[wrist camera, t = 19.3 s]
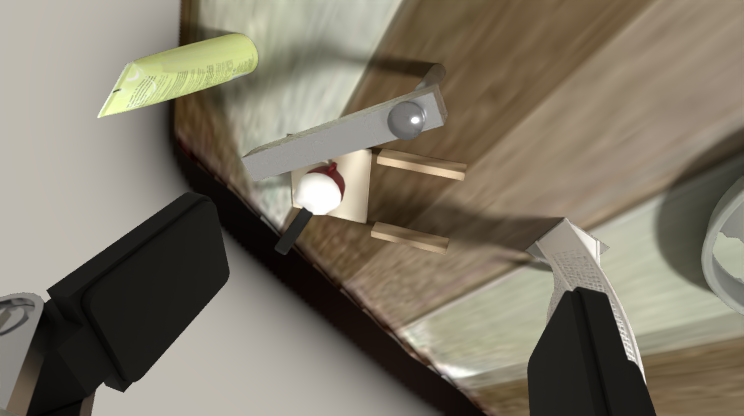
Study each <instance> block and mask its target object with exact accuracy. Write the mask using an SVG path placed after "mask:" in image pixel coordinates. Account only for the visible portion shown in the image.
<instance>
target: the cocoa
mask: <svg viewBox="0 0 744 416" xmlns="http://www.w3.org/2000/svg"><path fill="white" fill-rule="evenodd" d="M345 186H346V185H345V182H344V179H343V177H342V176H341V174H340V173H339V172H338V171H337V163H336V162H333V163H332V165H331V166H330V167H328V166H320V167H317V168H314V169H312V170H310V171H308V172H307V173H306V174H305V175H304V176H303V177H302V178H301V180H300V182H299V184H298V186H297V188H296V190H295V192H294V194H293V198H294V200H295V202H296V203H297V204H298V205H300V206H302V207H303V208H302V209H301V210H300V212H299V213H298V215H297V216H296V218H295V219H294V220H293V222H292V223H291V225H290V226H289V228H288V229H287V230H286V232H285V233H284V235H283V236H282V238H281V239H280V240H279V242H278V243H277V245H276V246H275V250H276V251H278V252H280V253H282V254H283V255H285V254H287V253H288V251H289V249H290V248H291V247H292V245H293V244H294V242H295V241H296V239H297V238H298V236H299V235H300V233H301V232H302V230H303V229H304V227H305V226H306V224H307V223H308V221H309V220H310V218H311V217H312V215H325V214H327V213H328V212H330V211H331V210H334V209H336V208H337V207H338V206H339V205H340V203H341V201H342V200H343V196H344V192H345Z"/></svg>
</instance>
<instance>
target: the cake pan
mask: <svg viewBox="0 0 744 416" xmlns="http://www.w3.org/2000/svg"><path fill="white" fill-rule="evenodd" d="M719 232H722V233H724V235H725V236H726V237H731V238H739V239H740V240H741V241H742V242H743V243H744V175H743V176H742V177H741V178H739V179H738V180H737V181H736V182H735V183H734V184H733V185H732V186H731V187H730V188H729V189H728V190H727V191H726V192H725V194H724V195H723V196H722V197H721V199H720V200H719V202H718V203H717V205H716V206H715V208H714V210H713V212H712V214H711V216H710V219H709V222H708V227H707V235H706V237H705V240H704V243H703V247H702V253H701V255H702V256H701V265H702V270H703V274H704V277H705V279H706V281H707V284H708V285H709V287H710V288H711V290H712V291H713V292H714V293H715V294H716V295H717V297H718V298H719V299H720V300H722V301H723V302H724V303H725V304H726V305H727V306H729V307H730V308H732V309H733V310H735V311H737V312H738V313H740V314H742V315H744V282H743V281H742V279H740V278H735V277H733V276H732V275H730V274H729V273H728V272H727V271H725V270H724V269H723V268H722V267H721V265H720V264H719V263H718V261H717V260H716V258H715V257H714V255H713V246H714V243H715V240H716V238H717V235H718V233H719Z"/></svg>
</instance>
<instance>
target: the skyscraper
mask: <svg viewBox="0 0 744 416" xmlns="http://www.w3.org/2000/svg"><path fill="white" fill-rule="evenodd" d="M608 249H609V247H608V246H607V245H605V244H604V243H602V242H601V241H599V240H598V239H596V238H595V237H593V236H592V235H590V234H589V233H587V232H586V231H584V230H583V229H581V228H580V227H578V226H577V225H575V224H574V223H572V222H571V221H569V220H568V219H567V218H564V219H563V220H561V221H560V222H559V223H558V224H556V225H555V226H554V227H553V228H551V229H550V230H549V231H548V232H547V233H545V234H544V235H543V236H542V237H540V238H539V239H538V240H537V241H536V242H534V243H533V244H532V245H531V246H529V247H528V248H527V249H526V250H525V251H527V252H528V253H530V254H531V255H533V256H534V257H536V258H537V259H539V260H540V261H542V262H543V263H545V264H546V265H548V266H549V267H551V268H552V271H553V275H554V291H553V294H552V297H551V301H550V304H549V309H548V314H547V321H546V326H547V324H548V322H549V320H550V318H551V316H552V314H553V313H554V311H555V309H556V307H557V305H558V303H559V301H560V299H561V297H562V295H563V294H564V292H565V291H566V290H569V291H573V290H574V289H575V288H576V287H577V286H579V287H583V288H588V289H592V290H596V291H600V292H604V293H606V294H607V296H608V298H609V301H610V304H611V307H612V310H613V314H614V317H615V320H616V323H617V326H618V329H619V332H620V335H621V339H622V342H623V345H624V348H625V351H626V354H627V357H628V360H631V361H634V362H635V363H636V364H637V365H638V366H639V368H640V370H641V372H642V375H643V378H644V381H645V376H644V370H643V366H642V362H641V358H640V353H639V350H638V346H637V343H636V340H635V337H634V334H633V331H632V329H631V326H630V323H629V321H628V318H627V316H626V314H625V311H624V309H623V307H622V305H621V303H620V301H619V299H618V297H617V295H616V293H615V291H614V289H613V287H612V285H611V283H610V282H609V280H608V278H607V276H606V275H605V273H604V271H603V270H602V268H601V267H600V254H602V253H603V252H605V251H606V250H608ZM645 384H646V381H645Z"/></svg>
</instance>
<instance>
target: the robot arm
mask: <svg viewBox="0 0 744 416" xmlns="http://www.w3.org/2000/svg"><path fill="white" fill-rule="evenodd" d="M229 274H230V272H229V266H228V261H227V257H226V252H225V248H224V243H223V238H222V233H221V229H220V223H219V219H218V214H217V209H216V206H215V204H214V203H212V200H211V199H210V198H209V197H208V196H205V195H200V194H196V193H192V192H187V193H185V194H183V195H182V196H180V197H179V198H177V199H176V200H175V201H173V202H172V203H170V204H169V205H167V206H166V207H164V208H163V209H162V210H160V211H159V212H157V213H156V214H154V215H153V216H152V217H150V218H149V219H147V220H146V221H144V222H143V223H142V224H140V225H139V226H137V227H136V228H134V229H133V230H132V231H130V232H129V233H127V234H126V235H124V236H123V237H122V238H120V239H119V240H117V241H116V242H115V243H113V244H112V245H110V246H109V247H107V248H106V249H105V250H103V251H102V252H100V253H99V254H97V255H96V256H95V257H93V258H92V259H90V260H89V261H87V262H86V263H85V264H83V265H82V266H80V267H79V268H77V269H76V270H75V271H73V272H72V273H70V274H69V275H67V276H66V277H65V278H63V279H62V280H60V281H59V282H58V283H56V284H55V285H53V286H52V287H50V288H49V289H48V290H47V292H48V294H49V295H50V297H51V299H50V300H48V301H47V302H46V303H44V301H43V299H42V298H41V297H40V296H38V295H36V294H34V293H16V294H10V295H7V296H3V297H0V416H91V413H92V408H93V403H94V397H95V392H96V389H97V388H98V386H99V385H100V384H102V383H103V382H104V383H105V385H106V386H108V387H110V388H113V389H116V390H118V391H121V392H123V393H124V392H125V390H126V389H127V388H128V387H129V386H130V385H131V384H132V383H133V382H136V381H138V380H140V379H141V378H142V377H143V376H144V375H145V374H146V373H147V371H148V370H149V369H150V368H151V367H152V366H153V365H154V364H155V362H156V361H157V360H158V359H159V358H160V357H161V356H162V354H163V353H164V352H165V351H166V350H167V349H168V348H169V347H170V345H171V344H172V343H173V342H174V341H175V340H176V339H177V338H178V337H179V335H180V334H181V333H182V332H183V331H184V330H185V329H186V327H187V326H188V325H189V324H190V323H191V322H192V321H193V320H194V318H195V317H196V316H197V315H198V314H199V313H200V312H201V311H202V309H203V308H204V307H205V306H206V305H207V304H208V303H209V302H210V300H211V299H212V298H213V297H214V296H215V295H216V294H217V293H218V291H219V290H220V289H221V288H222V287H223V286H224V285H225V283H226V282H227V280H228V278H229ZM527 374H528V391H529V408H530V416H656V413H655V410H654V407H653V404H652V401H651V398H650V395H649V392H648V389H647V386H646V384H645V381H644V378H643V375H642V372H641V370H640V368H639V366H638V365H637V364H636V363H635V362H634V361H631V360H628V357H627V354H626V351H625V348H624V345H623V342H622V339H621V335H620V332H619V329H618V326H617V323H616V320H615V317H614V314H613V310H612V307H611V304H610V301H609V298H608V296H607V294H606V293H604V292H600V291H596V290H592V289H588V288H583V287H579V286H577V287H576V288H575V289H574V290H573V291H569V290H566V291H565V292H564V294H563V295H562V297H561V299H560V301H559V303H558V305H557V307H556V309H555V311H554V313H553V314H552V316H551V318H550V320H549V322H548V324H547V326H546V328H545V330H544V332H543V334H542V336H541V337H540V339H539V341H538V343H537V345H536V347H535V349H534V351H533V353H532V355H531V357H530V359H529V362H528V369H527Z"/></svg>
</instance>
